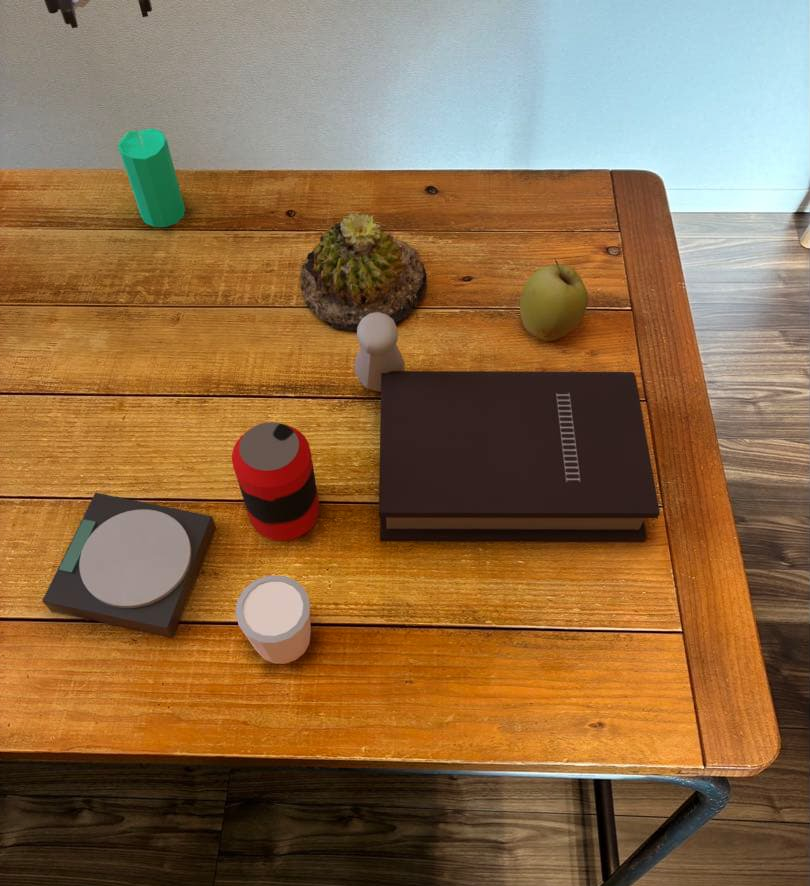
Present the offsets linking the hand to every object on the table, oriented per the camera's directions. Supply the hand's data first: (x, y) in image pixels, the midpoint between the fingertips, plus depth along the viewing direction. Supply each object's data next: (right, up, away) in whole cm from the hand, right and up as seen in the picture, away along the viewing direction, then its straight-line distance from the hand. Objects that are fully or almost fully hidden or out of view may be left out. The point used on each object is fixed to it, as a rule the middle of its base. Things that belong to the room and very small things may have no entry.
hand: (108, 14), depth 99 cm
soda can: (+23, -61, -11) cm, 66 cm away
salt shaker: (+33, -44, -2) cm, 55 cm away
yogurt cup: (+24, -73, -18) cm, 79 cm away
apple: (+54, -37, +3) cm, 65 cm away
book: (+47, -55, -7) cm, 73 cm away
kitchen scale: (+8, -66, -14) cm, 68 cm away
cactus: (+31, -31, +6) cm, 44 cm away
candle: (+3, -19, +13) cm, 23 cm away
